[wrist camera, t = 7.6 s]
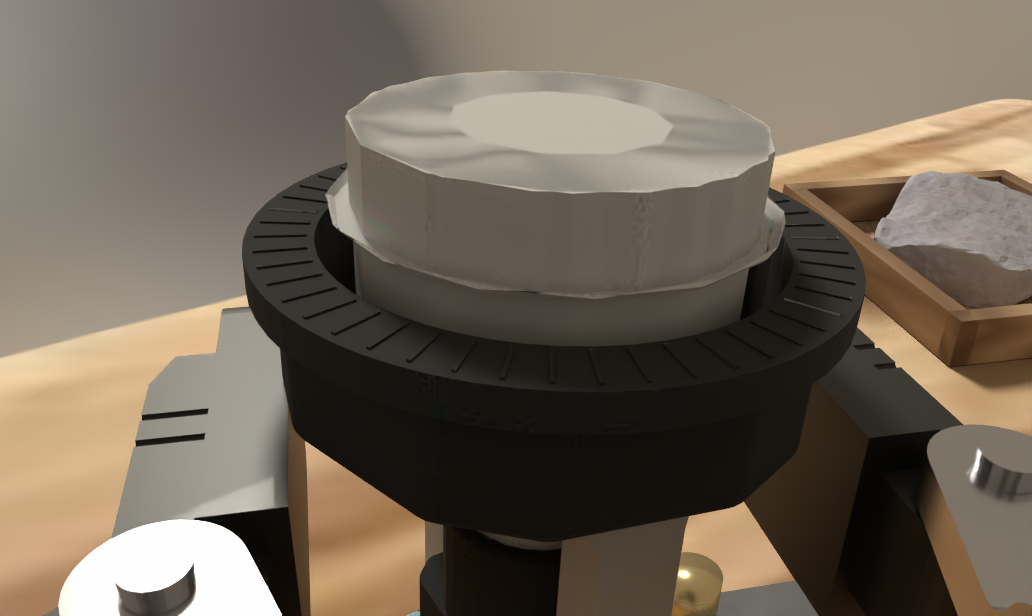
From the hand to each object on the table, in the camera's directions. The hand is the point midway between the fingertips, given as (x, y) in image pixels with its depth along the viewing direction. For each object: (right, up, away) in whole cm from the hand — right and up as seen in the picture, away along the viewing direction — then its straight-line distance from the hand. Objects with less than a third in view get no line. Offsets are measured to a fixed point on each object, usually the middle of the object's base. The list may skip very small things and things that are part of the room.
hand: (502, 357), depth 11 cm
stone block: (+27, +3, +44) cm, 51 cm away
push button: (0, -7, +1) cm, 7 cm away
